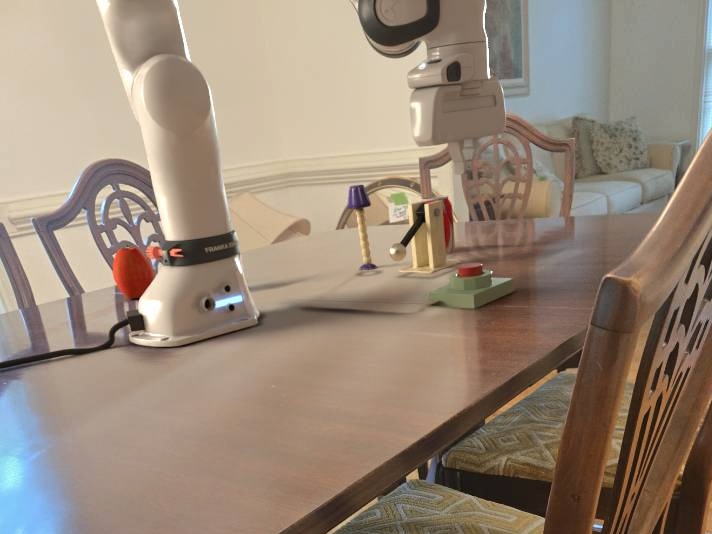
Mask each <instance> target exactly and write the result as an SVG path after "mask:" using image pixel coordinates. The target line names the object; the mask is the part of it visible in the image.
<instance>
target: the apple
mask: <svg viewBox="0 0 712 534" xmlns="http://www.w3.org/2000/svg"><path fill="white" fill-rule="evenodd" d="M128 246H129V245H126V247H125V248H120V249H118V250H117V251H116V253H115V256H114V259H113V262H112V263H113V264H112V276H113V280H114V282H115V284H116V286H117V288H118V290H119V291H120V292H121V293H122V295H123V296H124V297H125V298H126V299H129V300H134V299H140V298H141V296H142V295H143V294H144V292H145V291H146V290H147V288H148V287H149V286H150V284H151V283H152V281H153V280H154V278H155V277H156V275H155V270H154V267H153V266H152V263H151V261H150V260H149V258H147V255H145V253H144V252H142V250H141V249H139V248H138V247H136V246H131V247H128Z"/></svg>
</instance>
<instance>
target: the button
mask: <svg viewBox="0 0 712 534" xmlns="http://www.w3.org/2000/svg"><path fill="white" fill-rule="evenodd" d="M483 270H484V268H483V264H482V263H481V262H468V263H462V264H459V265H457V272H458V275H459V277H473V276H479V275H482V274H483Z"/></svg>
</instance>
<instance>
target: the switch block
mask: <svg viewBox="0 0 712 534" xmlns="http://www.w3.org/2000/svg"><path fill="white" fill-rule="evenodd" d="M448 279H449V284H446V285H444V286H440V287H439V288H436V289H433V290H430V291H428V292H427V294H428V300H429V301H435V302H433V303H431V304H430V305H429V306H430V307H444V308H461V309H473V310H474V309H477V308H479V307H481V306H483V305H486V304H488V303H491V302H493V301H495V300H498V299H500V298H503V297H504V296H507V295H509V294H511V293H513V292H515V286H514V277H493V271H492V270H489V269H483V274H482V275H479V276H473V277H459V275H458V271H456V272H453V273H451V274H450V275H449V276H448Z"/></svg>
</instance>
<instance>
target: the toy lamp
mask: <svg viewBox="0 0 712 534" xmlns="http://www.w3.org/2000/svg"><path fill="white" fill-rule="evenodd" d="M371 206H372V203H371V200H370V198H369V194H368V192H367V190H366V187H365V185H364V184H354V185H351V186H349V187H348V195H347V209H348V210H355V215H356V216H357V217H356V222H357V224H358V225H357V229H358V233H359V236H358V237H359V240H360V247H361V254H362V257H363V258H362V261H363V263H364V264H362V265H360V267H359V269H358V270H359V271H371V270H375V269H377V268H378V266H377V265H376V264H375V263H372V262H373V261H372V260H373V259H372V257H371V249H370V242H369V235H368V232H367V229H368V228H367V224H366V217H365V208H368V207H371Z"/></svg>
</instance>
